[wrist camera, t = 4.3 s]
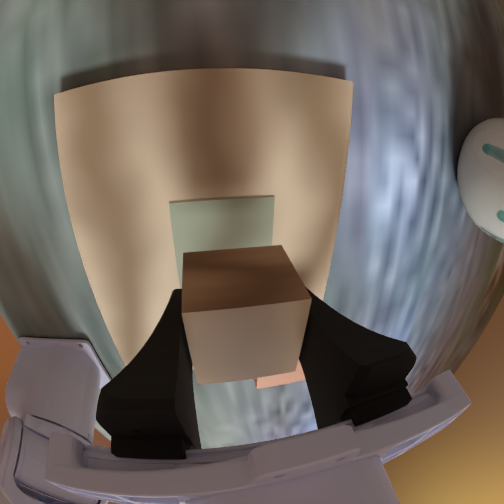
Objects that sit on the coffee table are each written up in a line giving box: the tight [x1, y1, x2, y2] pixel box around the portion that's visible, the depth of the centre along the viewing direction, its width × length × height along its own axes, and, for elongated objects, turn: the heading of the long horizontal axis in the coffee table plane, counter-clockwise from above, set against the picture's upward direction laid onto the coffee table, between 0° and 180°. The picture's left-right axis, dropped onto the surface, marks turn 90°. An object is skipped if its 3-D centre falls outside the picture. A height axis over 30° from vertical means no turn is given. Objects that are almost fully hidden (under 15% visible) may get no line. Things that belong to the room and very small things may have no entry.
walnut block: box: [182, 245, 312, 385], centre depth 12 cm, size 5×5×4 cm
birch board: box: [54, 68, 353, 369], centre depth 19 cm, size 18×24×1 cm
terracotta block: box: [254, 359, 306, 389], centre depth 21 cm, size 5×5×4 cm
